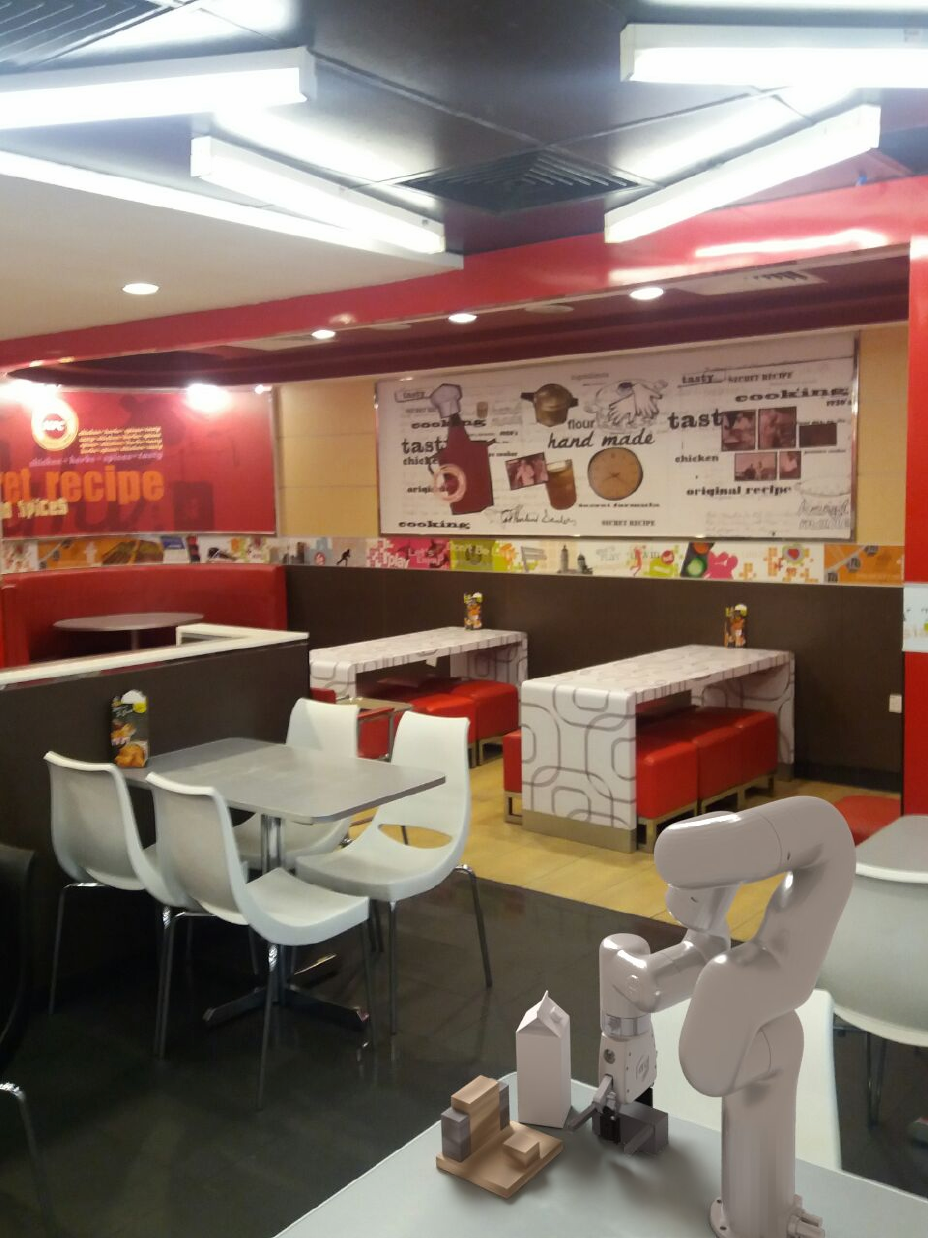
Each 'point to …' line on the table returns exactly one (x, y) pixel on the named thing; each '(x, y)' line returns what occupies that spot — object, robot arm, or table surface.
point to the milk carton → (544, 1065)
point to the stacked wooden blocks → (491, 1140)
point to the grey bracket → (632, 1126)
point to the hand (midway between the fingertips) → (627, 1125)
